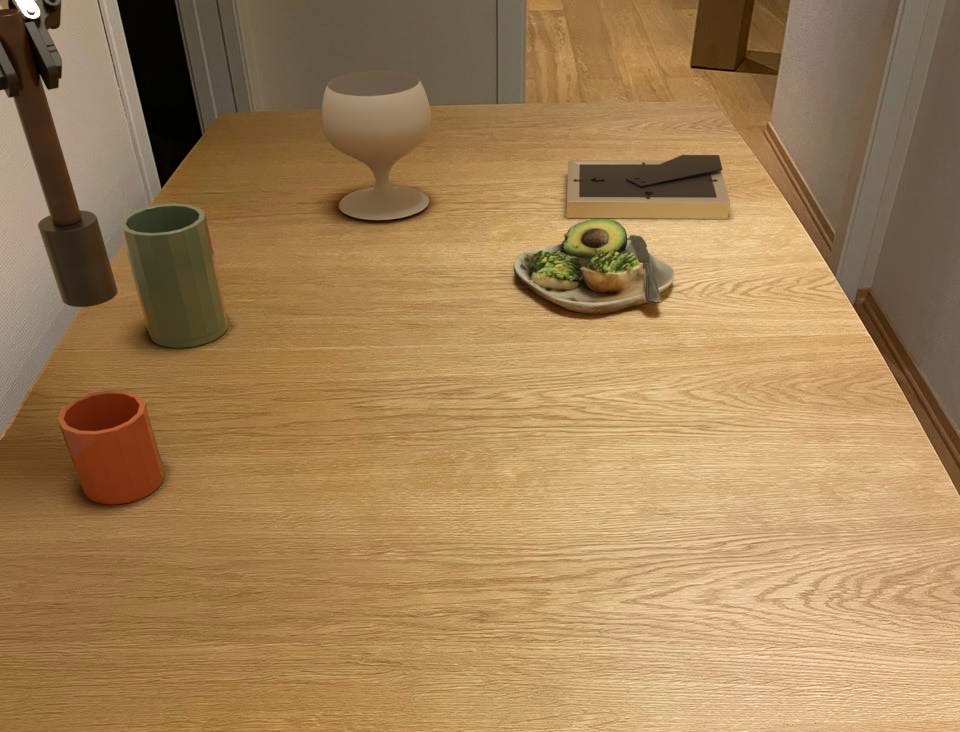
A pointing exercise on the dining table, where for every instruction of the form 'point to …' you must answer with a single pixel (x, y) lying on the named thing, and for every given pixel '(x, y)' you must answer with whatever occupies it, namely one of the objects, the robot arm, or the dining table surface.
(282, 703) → the dining table surface
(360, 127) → the chalice
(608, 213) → the picture frame
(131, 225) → the sage green cup
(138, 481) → the pot
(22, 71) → the brush
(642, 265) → the avocado toast plate
